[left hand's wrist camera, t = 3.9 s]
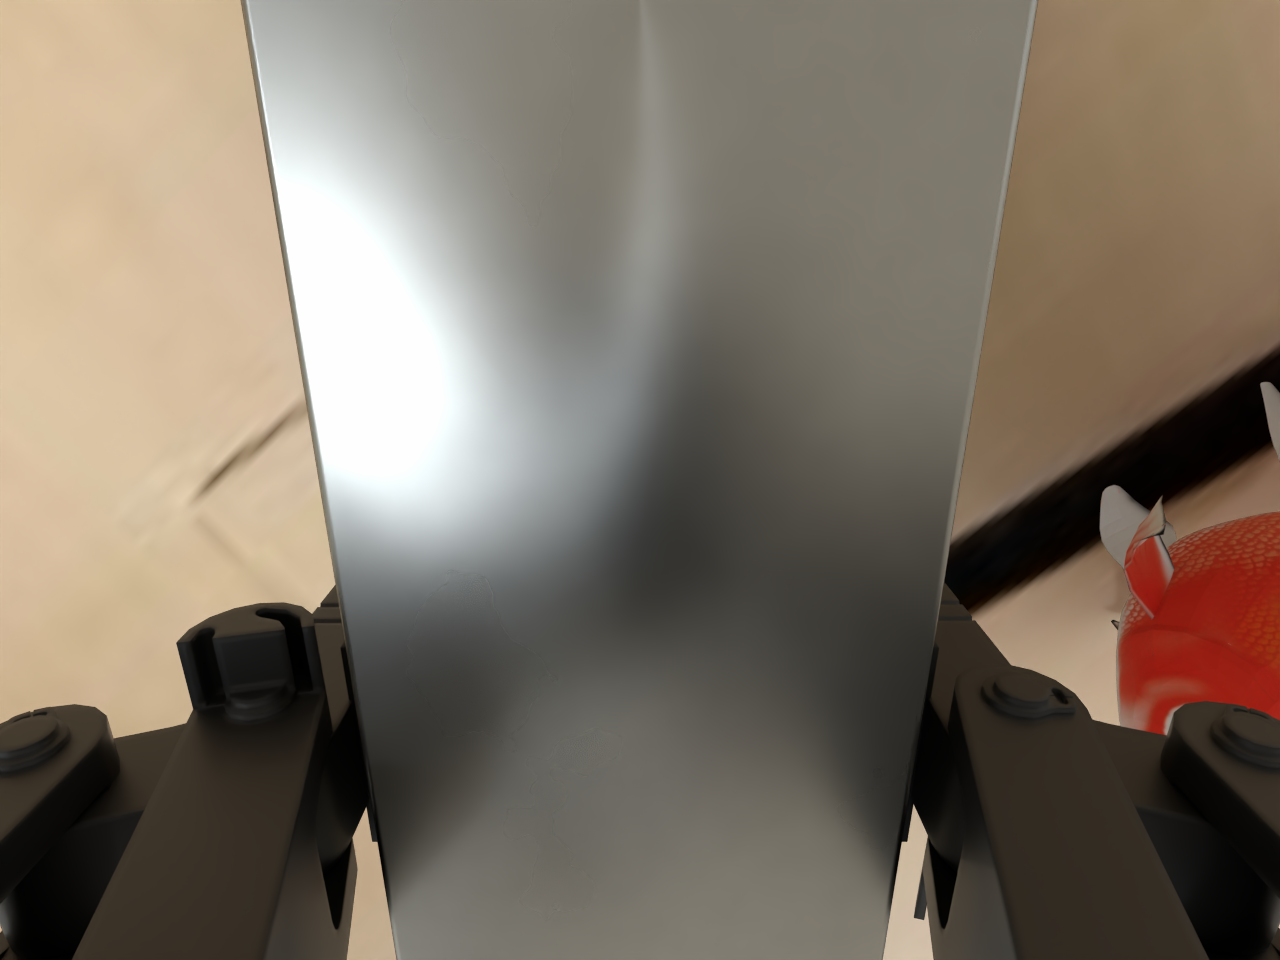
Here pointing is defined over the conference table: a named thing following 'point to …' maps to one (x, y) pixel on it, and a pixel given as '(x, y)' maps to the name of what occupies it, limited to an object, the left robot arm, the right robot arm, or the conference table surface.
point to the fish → (1195, 607)
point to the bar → (639, 441)
